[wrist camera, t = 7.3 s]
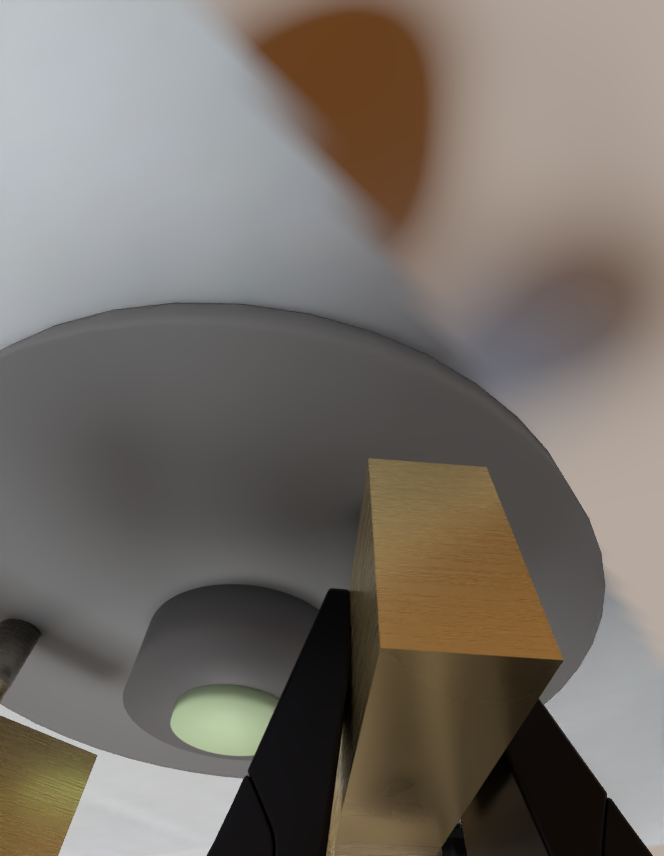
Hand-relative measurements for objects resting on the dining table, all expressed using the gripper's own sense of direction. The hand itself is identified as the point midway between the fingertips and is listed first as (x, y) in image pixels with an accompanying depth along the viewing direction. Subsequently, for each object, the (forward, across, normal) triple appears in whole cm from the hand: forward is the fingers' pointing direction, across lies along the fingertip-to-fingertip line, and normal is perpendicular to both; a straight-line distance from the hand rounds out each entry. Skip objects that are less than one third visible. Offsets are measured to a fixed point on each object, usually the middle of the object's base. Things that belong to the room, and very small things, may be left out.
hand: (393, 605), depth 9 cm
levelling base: (+4, +4, +6) cm, 8 cm away
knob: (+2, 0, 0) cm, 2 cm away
